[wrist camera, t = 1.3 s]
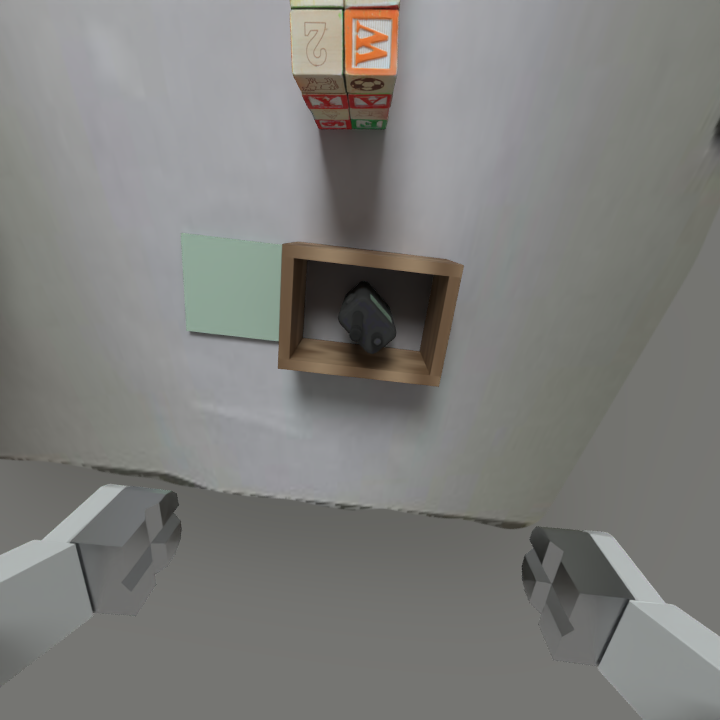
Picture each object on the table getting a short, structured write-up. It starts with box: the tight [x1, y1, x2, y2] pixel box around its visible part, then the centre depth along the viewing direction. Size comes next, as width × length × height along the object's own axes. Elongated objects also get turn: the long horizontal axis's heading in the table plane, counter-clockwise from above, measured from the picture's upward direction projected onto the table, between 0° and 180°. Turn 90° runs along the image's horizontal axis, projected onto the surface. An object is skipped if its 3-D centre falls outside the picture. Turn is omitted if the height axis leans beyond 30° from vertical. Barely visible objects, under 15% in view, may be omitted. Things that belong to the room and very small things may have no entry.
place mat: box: [181, 233, 282, 341], centre depth 37 cm, size 10×10×1 cm
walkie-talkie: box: [338, 281, 396, 354], centre depth 30 cm, size 5×3×15 cm
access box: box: [278, 242, 464, 387], centre depth 34 cm, size 15×11×7 cm
